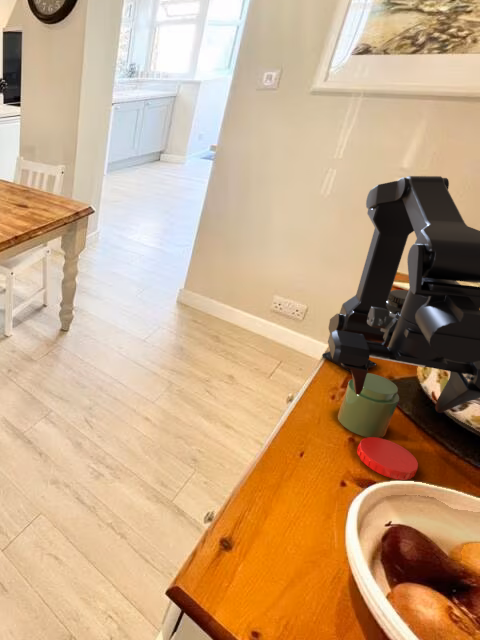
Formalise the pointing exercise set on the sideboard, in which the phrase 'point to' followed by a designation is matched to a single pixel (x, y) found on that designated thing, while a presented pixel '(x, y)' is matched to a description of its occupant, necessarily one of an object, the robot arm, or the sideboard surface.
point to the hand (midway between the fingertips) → (395, 401)
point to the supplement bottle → (396, 301)
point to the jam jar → (369, 406)
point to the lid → (387, 458)
